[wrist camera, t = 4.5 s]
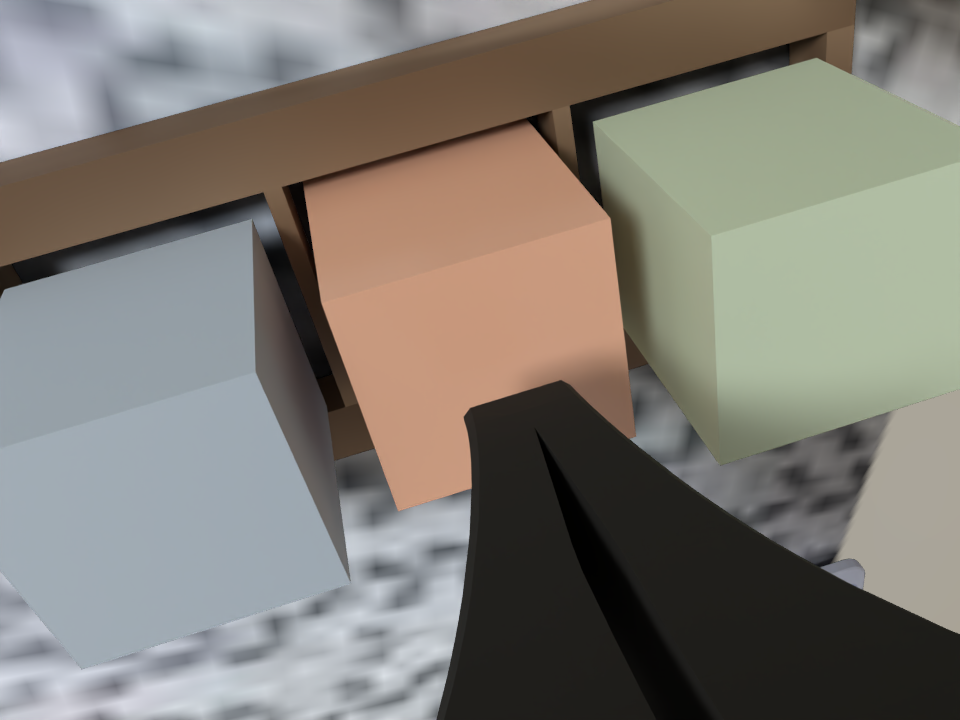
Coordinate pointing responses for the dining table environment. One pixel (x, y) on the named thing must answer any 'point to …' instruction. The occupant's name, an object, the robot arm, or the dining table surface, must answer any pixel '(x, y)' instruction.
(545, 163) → the salmon orange cube
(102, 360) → the light grey cube
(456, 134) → the walnut board
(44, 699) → the dining table surface
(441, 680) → the dining table surface
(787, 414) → the sage button
